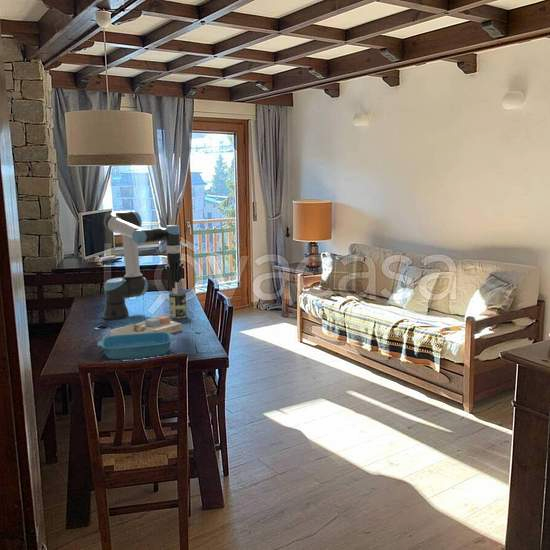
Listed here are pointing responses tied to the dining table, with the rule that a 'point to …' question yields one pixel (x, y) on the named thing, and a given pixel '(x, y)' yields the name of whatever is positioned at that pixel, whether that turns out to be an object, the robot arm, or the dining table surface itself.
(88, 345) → the dining table surface
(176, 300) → the coffee can
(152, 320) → the tile front
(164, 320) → the tile rear
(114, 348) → the casserole dish
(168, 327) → the wavy grain square board
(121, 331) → the tray
